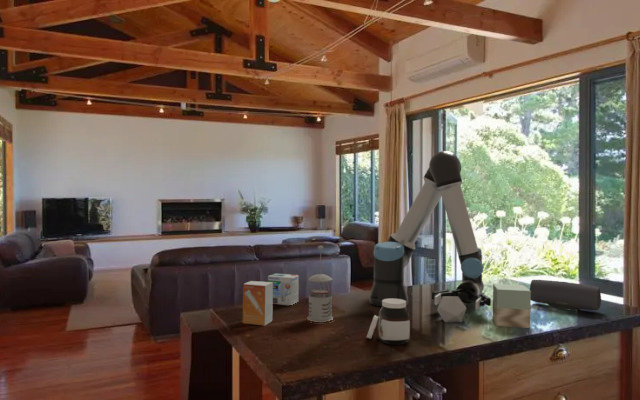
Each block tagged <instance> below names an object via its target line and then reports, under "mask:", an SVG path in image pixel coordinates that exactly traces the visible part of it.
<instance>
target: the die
mask: <svg viewBox="0 0 640 400" xmlns="http://www.w3.org/2000/svg"><path fill="white" fill-rule="evenodd" d="M436 311H437V312H438V314H439V316H440V317H441V318H442V321H444V323H462V321H463V319H464V315H465V313H466V311H467V307H466V305H465V303H463V302H462V301H461V300H460V298H459V297H458V296H443V297H442V299H441V302H440V303H438V306H437V310H436Z"/></svg>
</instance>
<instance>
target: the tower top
mask: <svg viewBox="0 0 640 400" xmlns="http://www.w3.org/2000/svg"><path fill="white" fill-rule="evenodd" d="M531 301H532V300H531V291H530V288H528V287H526V286H525V284H524V285H523V284H505V283H504V284H503V283H501V284H500V283H493V285H492V303H493V302H494V303H495V305H496V307H497V308H509V309H525V310H530V311H531V306H532V305H531V303H532V302H531Z"/></svg>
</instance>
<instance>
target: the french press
mask: <svg viewBox="0 0 640 400" xmlns="http://www.w3.org/2000/svg"><path fill="white" fill-rule="evenodd" d="M317 249H318V250H319V260H320V261H319V264H320V265H319V273H317V274H313V275H311V276H310V277H309V278H308V280H309V281H310V282H313V283H319V288H312V289H310V290H309V292H310V293H309V294H308V316H307V317H306V318H307V319H308V320H310V321H314V322H326V321H330V320H333V318H334V317H333V312H332V310H333V309H332V307H333V305H332V302H333V300H332V299H333V295H332V294H331V292H332V291H331V290H330V289H329V288H330V282H332V281H333V278H332V277H330V276H329V275H327V274H324V273H322V271H321V270H322V261H321V260H322V250H324V246H323V245H318V246H317ZM327 285H328V286H327ZM322 286H323V288H321V287H322ZM326 286H327V287H328V288H326Z"/></svg>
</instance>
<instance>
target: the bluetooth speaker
mask: <svg viewBox="0 0 640 400" xmlns="http://www.w3.org/2000/svg"><path fill="white" fill-rule="evenodd" d="M529 290H530V291H531V301H532V302H536V303H539V304H545V305H548V307H549V308H553V309H559V308H560V309H561V310H565V309H570V310H569V311H572V310H580V311H581V310H587V311H599V310H600V308H601V304H602V303H601V302H602V296H601V295H602V294H601V287H598V286H594V285H588V284H583V283H576V282H567V281H558V280H548V279H547V280H545V279H532V280H531V281H530V286H529ZM560 309H559V310H560Z"/></svg>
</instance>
